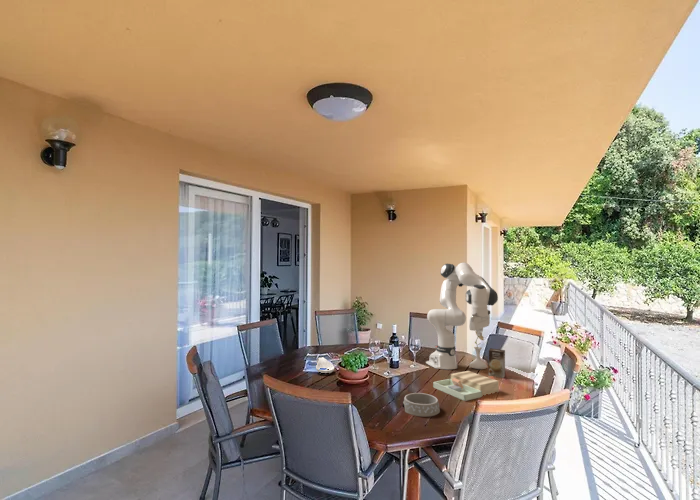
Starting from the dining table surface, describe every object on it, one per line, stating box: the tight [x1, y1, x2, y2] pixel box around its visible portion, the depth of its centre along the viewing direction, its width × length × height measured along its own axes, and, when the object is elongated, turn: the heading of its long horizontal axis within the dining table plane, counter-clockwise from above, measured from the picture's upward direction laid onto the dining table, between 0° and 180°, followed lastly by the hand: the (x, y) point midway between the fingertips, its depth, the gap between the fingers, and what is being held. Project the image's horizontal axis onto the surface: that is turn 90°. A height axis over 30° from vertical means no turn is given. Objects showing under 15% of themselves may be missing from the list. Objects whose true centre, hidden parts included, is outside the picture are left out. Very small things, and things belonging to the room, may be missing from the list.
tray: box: [432, 378, 483, 402], centre depth 205 cm, size 24×12×3 cm, turn 29°
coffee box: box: [488, 348, 506, 379], centre depth 236 cm, size 9×6×16 cm
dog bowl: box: [402, 392, 441, 418], centre depth 182 cm, size 17×18×5 cm
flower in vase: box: [468, 331, 488, 370], centre depth 253 cm, size 13×11×25 cm
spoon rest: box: [315, 356, 335, 374], centre depth 246 cm, size 24×12×7 cm, turn 18°
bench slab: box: [450, 370, 499, 397], centre depth 212 cm, size 22×14×6 cm, turn 29°
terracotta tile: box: [452, 378, 463, 389], centre depth 209 cm, size 5×5×2 cm
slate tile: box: [448, 385, 462, 392], centre depth 206 cm, size 5×5×2 cm
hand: (479, 335), depth 222 cm, fingers closed
